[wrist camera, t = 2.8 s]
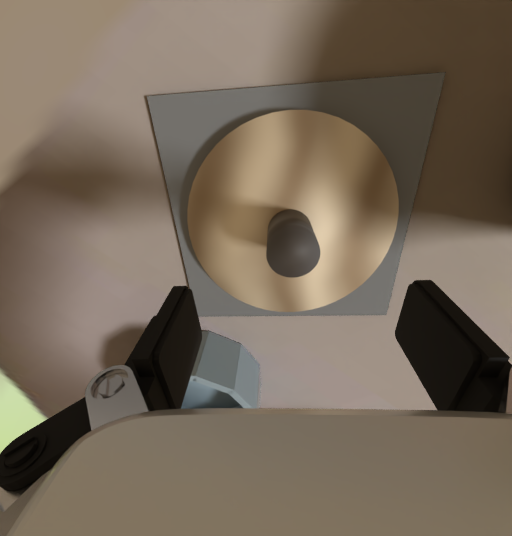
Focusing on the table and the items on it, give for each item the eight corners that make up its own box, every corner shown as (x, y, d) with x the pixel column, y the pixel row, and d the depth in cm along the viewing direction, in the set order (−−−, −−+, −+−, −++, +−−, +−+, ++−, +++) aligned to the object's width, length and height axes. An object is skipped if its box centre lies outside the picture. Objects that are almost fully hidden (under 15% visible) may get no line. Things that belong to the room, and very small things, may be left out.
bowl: (256, 330, 29) (253, 376, 23) (262, 410, 36) (261, 458, 31) (130, 331, 30) (99, 374, 25) (161, 407, 37) (142, 454, 32)
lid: (414, 100, 17) (472, 90, 12) (374, 303, 25) (398, 346, 20) (171, 119, 19) (134, 117, 14) (207, 305, 27) (192, 346, 22)
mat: (442, 73, 17) (445, 72, 16) (384, 312, 26) (386, 315, 26) (149, 96, 18) (146, 96, 18) (197, 314, 28) (195, 316, 28)
